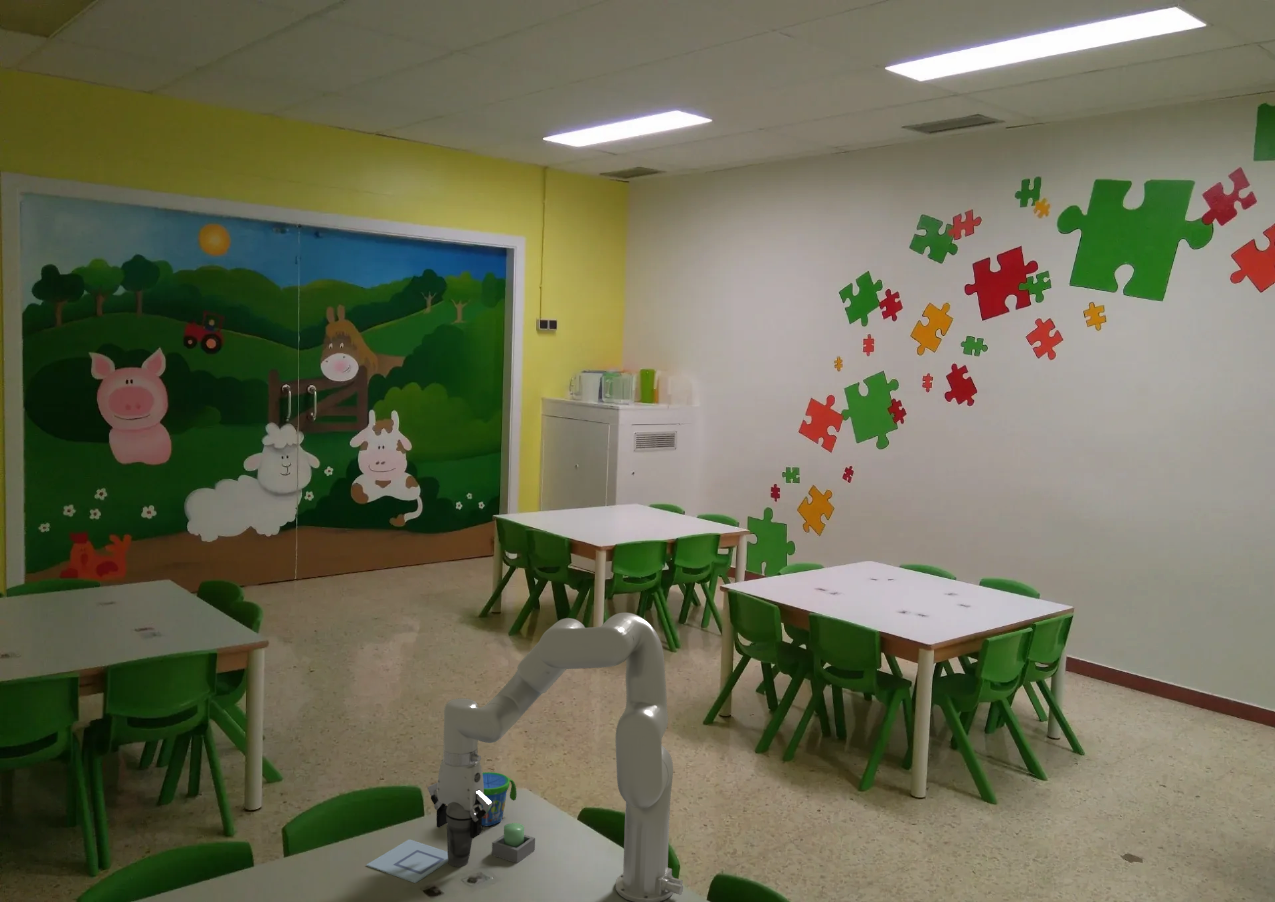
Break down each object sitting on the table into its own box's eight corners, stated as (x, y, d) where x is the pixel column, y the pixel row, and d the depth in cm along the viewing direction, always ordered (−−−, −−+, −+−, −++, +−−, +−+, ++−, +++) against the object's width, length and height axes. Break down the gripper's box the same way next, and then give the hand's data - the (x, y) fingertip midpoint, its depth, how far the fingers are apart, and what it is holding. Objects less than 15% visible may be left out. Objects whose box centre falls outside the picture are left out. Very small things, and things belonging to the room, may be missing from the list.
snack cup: (506, 805, 249) (507, 766, 249) (525, 821, 241) (526, 781, 240) (448, 818, 241) (449, 778, 240) (466, 836, 232) (467, 794, 231)
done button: (527, 842, 226) (528, 826, 225) (516, 851, 222) (516, 834, 221) (511, 837, 228) (511, 821, 227) (499, 846, 224) (499, 829, 223)
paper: (456, 856, 222) (456, 854, 222) (415, 883, 210) (415, 881, 210) (409, 840, 229) (409, 839, 229) (366, 865, 217) (366, 864, 217)
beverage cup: (471, 871, 216) (477, 785, 214) (438, 868, 216) (444, 781, 214) (477, 854, 223) (483, 770, 221) (445, 851, 223) (451, 767, 221)
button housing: (534, 850, 226) (535, 838, 226) (517, 863, 220) (517, 850, 220) (509, 842, 230) (510, 830, 229) (491, 855, 223) (492, 842, 223)
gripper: (502, 758, 217) (500, 833, 218) (440, 742, 225) (439, 814, 227) (481, 770, 210) (479, 847, 212) (418, 752, 219) (417, 827, 220)
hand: (458, 830), depth 219 cm, fingers open, 9 cm apart
